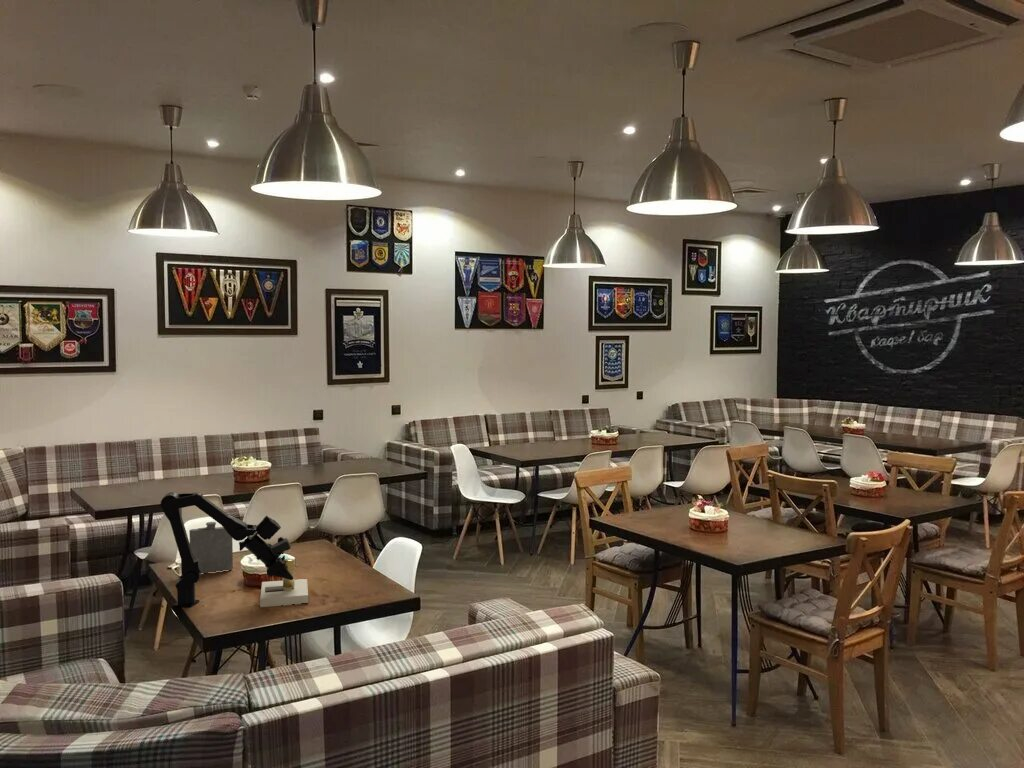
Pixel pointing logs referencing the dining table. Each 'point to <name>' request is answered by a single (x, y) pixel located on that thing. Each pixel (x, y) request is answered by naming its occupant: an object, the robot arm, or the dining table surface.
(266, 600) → the keyhole plate
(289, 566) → the brass peg
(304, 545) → the dining table surface
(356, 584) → the dining table surface
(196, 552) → the hip flask
